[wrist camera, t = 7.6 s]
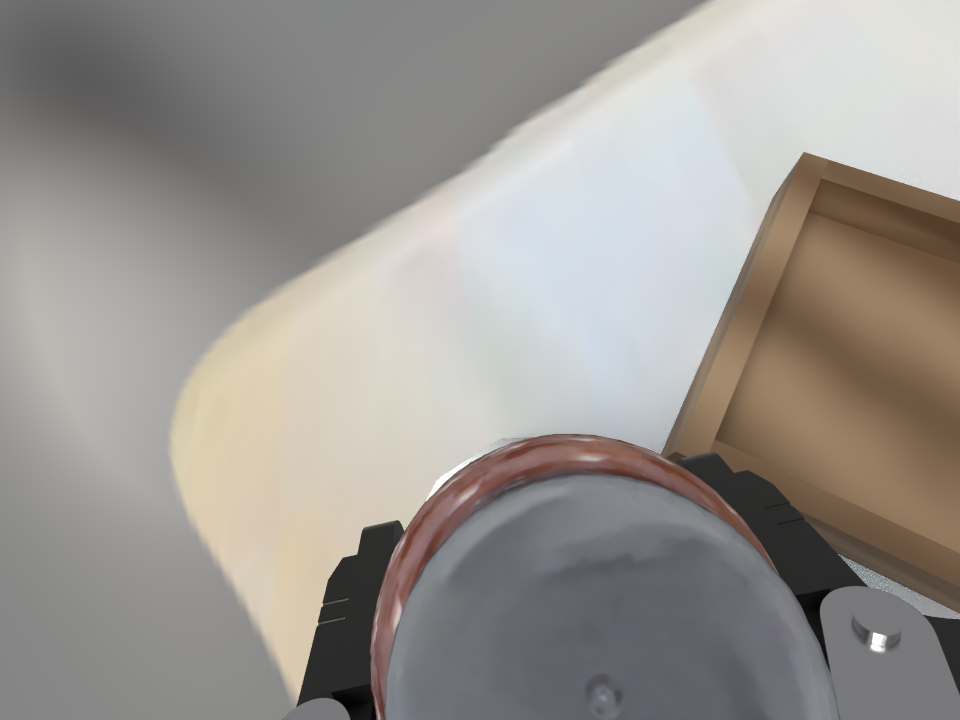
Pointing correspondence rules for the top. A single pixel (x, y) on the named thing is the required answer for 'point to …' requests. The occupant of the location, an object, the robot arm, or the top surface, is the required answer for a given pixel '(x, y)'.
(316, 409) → the top surface
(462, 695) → the supplement bottle
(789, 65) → the top surface
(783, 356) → the tray
